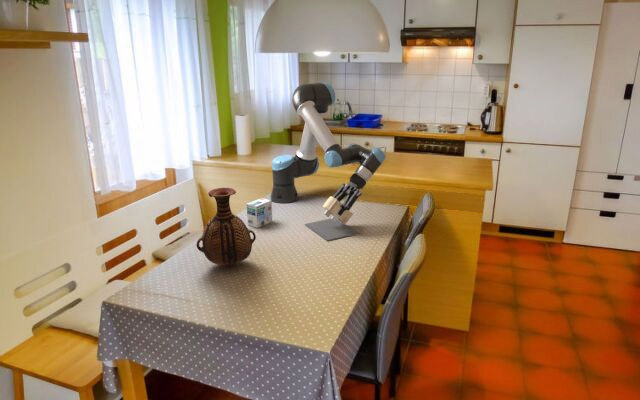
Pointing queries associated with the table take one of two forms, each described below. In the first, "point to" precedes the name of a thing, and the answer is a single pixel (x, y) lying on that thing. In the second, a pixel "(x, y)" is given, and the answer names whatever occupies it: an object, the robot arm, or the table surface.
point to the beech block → (334, 205)
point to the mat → (331, 229)
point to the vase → (225, 233)
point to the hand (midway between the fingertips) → (329, 217)
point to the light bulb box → (259, 212)
